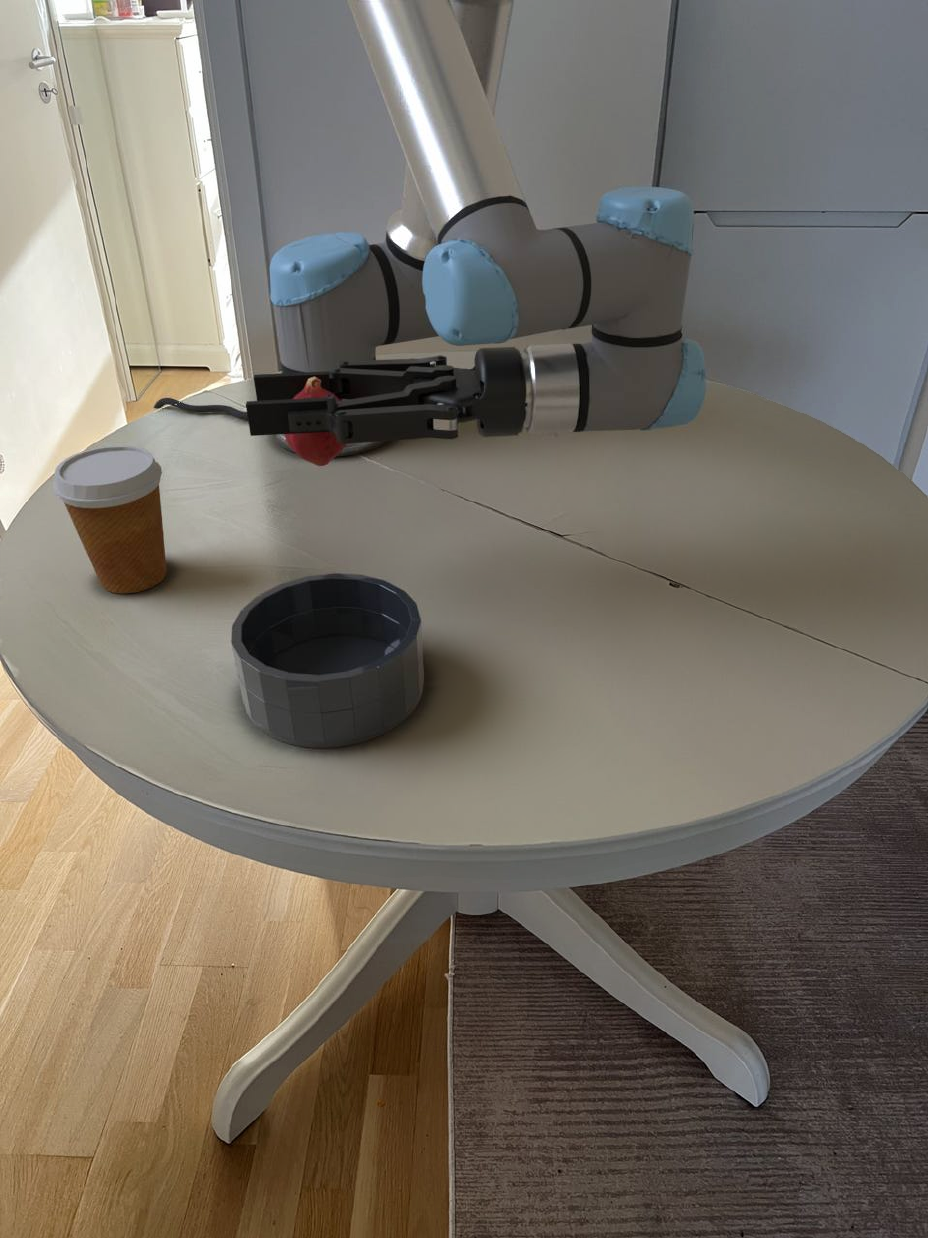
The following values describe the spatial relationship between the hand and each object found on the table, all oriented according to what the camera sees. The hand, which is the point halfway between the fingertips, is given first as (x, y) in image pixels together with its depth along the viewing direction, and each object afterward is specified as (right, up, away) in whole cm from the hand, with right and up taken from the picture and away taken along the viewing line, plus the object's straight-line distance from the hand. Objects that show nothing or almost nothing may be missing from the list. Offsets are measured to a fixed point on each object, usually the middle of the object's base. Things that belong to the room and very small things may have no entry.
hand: (253, 404), depth 78 cm
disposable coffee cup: (-14, -14, +12) cm, 24 cm away
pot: (+7, -24, -3) cm, 25 cm away
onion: (+5, -5, +4) cm, 8 cm away
